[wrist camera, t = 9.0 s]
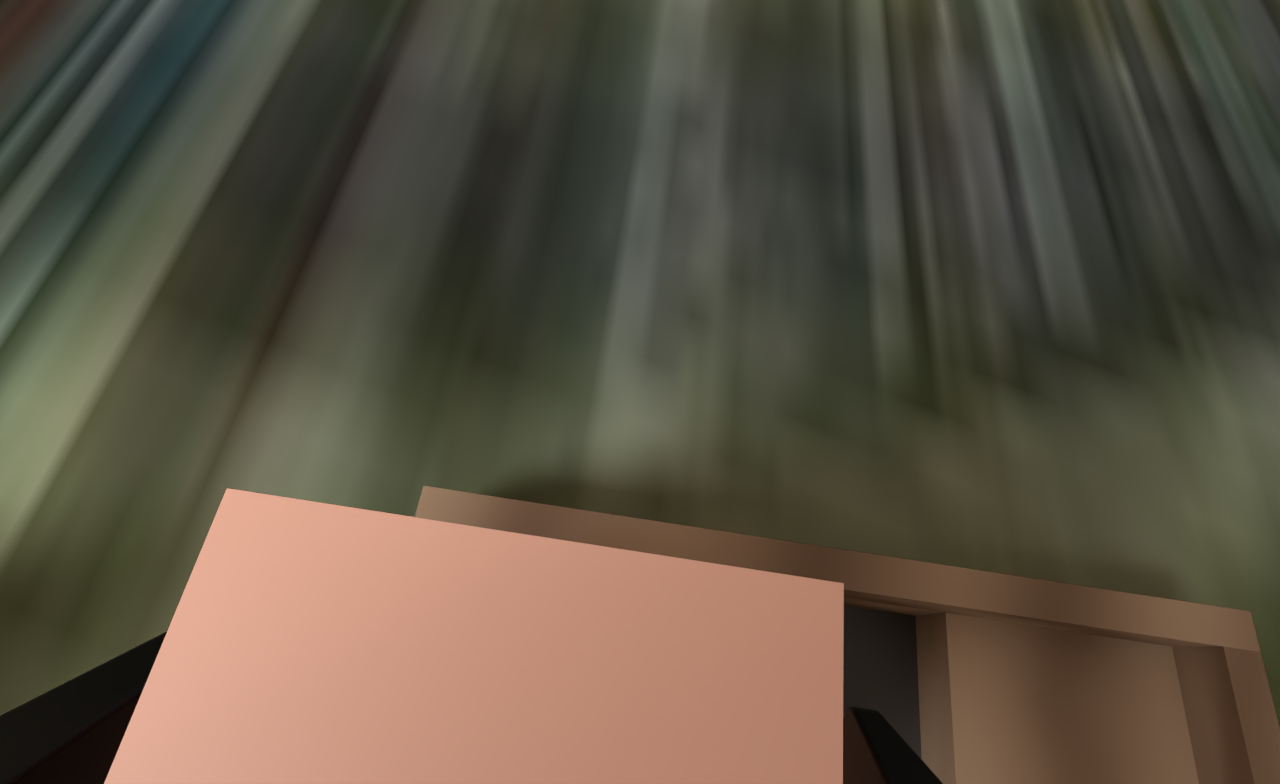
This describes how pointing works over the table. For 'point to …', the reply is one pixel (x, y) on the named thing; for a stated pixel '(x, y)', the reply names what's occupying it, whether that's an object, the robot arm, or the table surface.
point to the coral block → (480, 661)
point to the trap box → (993, 657)
